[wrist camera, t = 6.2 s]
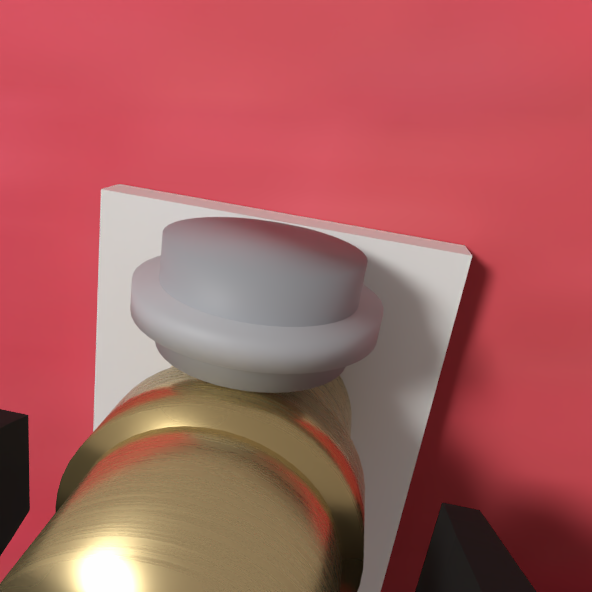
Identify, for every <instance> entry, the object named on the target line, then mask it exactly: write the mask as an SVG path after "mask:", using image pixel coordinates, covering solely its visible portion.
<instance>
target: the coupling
mask: <svg viewBox="0 0 592 592" xmlns="http://www.w3.org/2000/svg"><path fill="white" fill-rule="evenodd" d="M351 416H352V413H351V405H350V400H349V396H348V392H347V389H346V387H345V385H344V382H343V380H342V378H341V377H340V375H339V376H338V377H337V378H335V379H334V380H332V381H331V382H328V383H326V384H324V385H322V386H319V387H315V388H312V389H307V390H302V391H295V392H283V393H264V392H251V391H243V390H237V389H231V388H226V387H222V386H218V385H214V384H211V383H208V382H205V381H202V380H199V379H197V378H194V377H192V376H190V375H188V374H186V373H184V372H182V371H180V370H179V369H177V368H176V367H174V366H171V367H170V368H168V369H166V370H163V371H160V372H158V373H156V374H154V375H152V376H150V377H148V378H147V379H145V380H144V381H142V382H141V383H139V384H138V385H137V386H135V387H134V388H133V389H132V390H131V391H130V392H129V393H128V394H127V395H126V396H124V397H123V398H122V400H121V401H120V402H119V403H118V404H117V405H116V406H115V408H114V409H113V410H112V411H111V412H110V413H109V415H108V416H107V417H106V418H105V419H104V420H103V422H102V423H101V424H100V425H99V426H98V427H97V428H96V430H95V431H94V432H93V433H92V434H91V435H90V437H89V438H88V439H87V440H86V441H85V442H84V443H83V445H82V446H81V447H80V448H79V449H78V451H77V452H76V454H75V455H74V456H73V458H72V459H71V460H70V462H69V464H68V466H67V468H66V470H65V472H64V474H63V476H62V479H61V482H60V486H59V489H58V493H57V501H56V513H55V515H54V516H53V517H52V518H51V520H50V521H49V522H48V523H47V525H46V526H45V527H44V529H43V530H42V531H41V532H40V534H39V535H38V536H37V537H36V539H35V540H34V541H33V543H32V544H31V545H30V546H29V548H28V549H27V550H26V551H25V553H24V554H23V555H22V557H21V558H20V559H19V560H18V562H17V563H16V564H15V566H14V567H13V568H12V569H11V571H10V572H9V573H8V574H7V576H6V577H5V578H4V580H3V581H2V582H1V583H0V592H357V591H358V589H359V586H360V582H361V577H362V573H363V562H364V520H365V482H364V474H363V469H362V465H361V462H360V458H359V455H358V453H357V450H356V448H355V446H354V444H353V441H352V440H351V438H350V436H351Z"/></svg>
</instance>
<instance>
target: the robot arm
mask: <svg viewBox="0 0 592 592" xmlns="http://www.w3.org/2000/svg"><path fill="white" fill-rule="evenodd" d="M29 510H30V503H29V438H28V415H25V414H20V413H15V412H11V411H6V410H1V409H0V555H1V554H2V552H3V551H4V549H5V548H6V546H7V545H8V543H9V542H10V540H11V539H12V537H13V536H14V534H15V532H16V531H17V529H18V528H19V526H20V524H21V523H22V521H23V520H24V518H25V516H26V515H27V513H28V512H29ZM415 592H536V590H535V589H534V588H533V586H532V585H531V583H530V582H529V581H528V579H527V578H526V576H525V575H524V573H523V572H522V571H521V569H520V568H519V566H518V565H517V563H516V562H515V561H514V559H513V558H512V556H511V555H510V553H509V552H508V550H507V549H506V548H505V546H504V545H503V543H502V542H501V540H500V539H499V537H498V536H497V534H496V533H495V532H494V530H493V529H492V527H491V526H490V524H489V523H488V521H487V520H486V519H485V517H484V516H483V514H482V513H481V512H480V510H476V509H471V508H466V507H461V506H457V505H452V504H447V503H442V505H441V509H440V512H439V515H438V519H437V522H436V525H435V528H434V532H433V535H432V538H431V542H430V545H429V548H428V552H427V555H426V558H425V562H424V565H423V568H422V571H421V575H420V578H419V581H418V585H417V588H416V591H415Z"/></svg>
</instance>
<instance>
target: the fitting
mask: <svg viewBox="0 0 592 592" xmlns="http://www.w3.org/2000/svg"><path fill="white" fill-rule="evenodd" d="M471 259H472V255H471V253H470V252H469V250H468V249H467V248H466V246H465V245H459V244H454V243H448V242H442V241H437V240H431V239H425V238H420V237H414V236H409V235H403V234H397V233H392V232H386V231H381V230H375V229H369V228H364V227H358V226H353V225H347V224H341V223H336V222H330V221H324V220H319V219H313V218H308V217H302V216H296V215H291V214H285V213H280V212H274V211H268V210H263V209H257V208H252V207H246V206H240V205H235V204H229V203H223V202H218V201H212V200H207V199H201V198H195V197H190V196H184V195H179V194H173V193H167V192H162V191H156V190H151V189H145V188H139V187H134V186H128V185H122V184H117V185H114V186H110V187H107V188H104V189H101V209H100V240H99V271H98V303H97V334H96V365H95V396H94V427H93V432H94V431H95V430H96V428H97V427H98V426H99V425H100V424H101V423H102V422H103V420H104V419H105V418H106V417H107V416H108V415H109V413H110V412H111V411H112V410H113V409H114V408H115V406H116V405H117V404H118V403H119V402H120V401H121V400H122V398H123V397H124V396H126V395H127V394H128V393H129V392H130V391H131V390H132V389H133V388H134V387H135V386H137V385H138V384H139V383H141V382H142V381H144V380H145V379H147V378H148V377H150V376H152V375H154V374H156V373H158V372H160V371H163V370H166V369H168V368H170V367H171V366H174V367H176V368H177V369H179V370H180V371H182V372H184V373H186V374H188V375H190V376H192V377H194V378H197V379H199V380H202V381H205V382H208V383H211V384H214V385H218V386H222V387H226V388H231V389H237V390H243V391H251V392H264V393H283V392H295V391H302V390H307V389H312V388H315V387H319V386H322V385H324V384H326V383H328V382H331V381H332V380H334V379H335V378H337V377H338V376H339V375H340V377H341V378H342V380H343V382H344V385H345V387H346V389H347V392H348V396H349V400H350V405H351V413H352V416H351V436H350V438H351V440H352V441H353V444H354V446H355V448H356V450H357V453H358V455H359V458H360V462H361V465H362V469H363V474H364V482H365V520H364V562H363V573H362V577H361V582H360V586H359V589H358V591H357V592H381V588H382V585H383V581H384V577H385V574H386V570H387V566H388V563H389V559H390V555H391V552H392V548H393V545H394V541H395V537H396V534H397V530H398V526H399V523H400V519H401V515H402V512H403V508H404V504H405V501H406V497H407V493H408V490H409V486H410V482H411V479H412V475H413V471H414V468H415V464H416V460H417V457H418V453H419V449H420V446H421V442H422V438H423V435H424V431H425V427H426V424H427V420H428V416H429V413H430V409H431V405H432V402H433V398H434V394H435V391H436V387H437V383H438V380H439V376H440V373H441V369H442V365H443V362H444V358H445V354H446V351H447V347H448V343H449V340H450V336H451V332H452V329H453V325H454V321H455V318H456V314H457V310H458V307H459V303H460V299H461V296H462V292H463V288H464V285H465V281H466V277H467V274H468V270H469V266H470V263H471Z"/></svg>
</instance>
